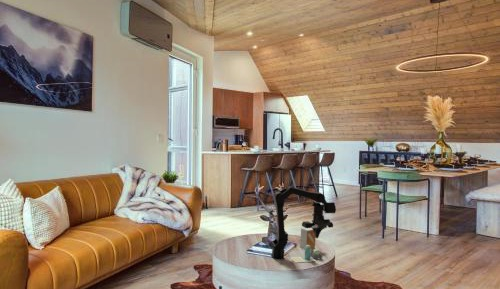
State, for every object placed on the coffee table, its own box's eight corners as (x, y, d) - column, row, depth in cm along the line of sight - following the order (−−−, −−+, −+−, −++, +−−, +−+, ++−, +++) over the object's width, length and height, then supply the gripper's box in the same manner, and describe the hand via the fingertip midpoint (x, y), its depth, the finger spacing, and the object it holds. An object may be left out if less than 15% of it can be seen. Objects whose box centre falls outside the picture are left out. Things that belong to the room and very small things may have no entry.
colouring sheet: (295, 262, 210) (295, 262, 210) (289, 258, 218) (289, 257, 218) (315, 261, 214) (315, 260, 214) (309, 257, 222) (309, 256, 222)
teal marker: (306, 259, 214) (306, 246, 214) (303, 257, 218) (304, 244, 218) (311, 259, 216) (312, 246, 216) (308, 257, 219) (309, 244, 219)
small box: (306, 250, 235) (307, 230, 234) (299, 247, 240) (300, 228, 240) (315, 248, 239) (316, 229, 239) (308, 246, 244) (309, 226, 244)
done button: (314, 258, 219) (315, 251, 219) (312, 256, 223) (312, 249, 222) (320, 257, 220) (320, 250, 220) (317, 255, 224) (317, 248, 223)
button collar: (314, 259, 218) (314, 255, 218) (310, 256, 223) (310, 252, 223) (321, 258, 220) (322, 254, 220) (317, 255, 224) (318, 252, 224)
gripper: (310, 216, 210) (309, 242, 211) (338, 215, 216) (337, 241, 216) (302, 212, 221) (300, 237, 221) (329, 211, 226) (327, 236, 227)
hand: (316, 238), depth 221 cm, fingers closed
